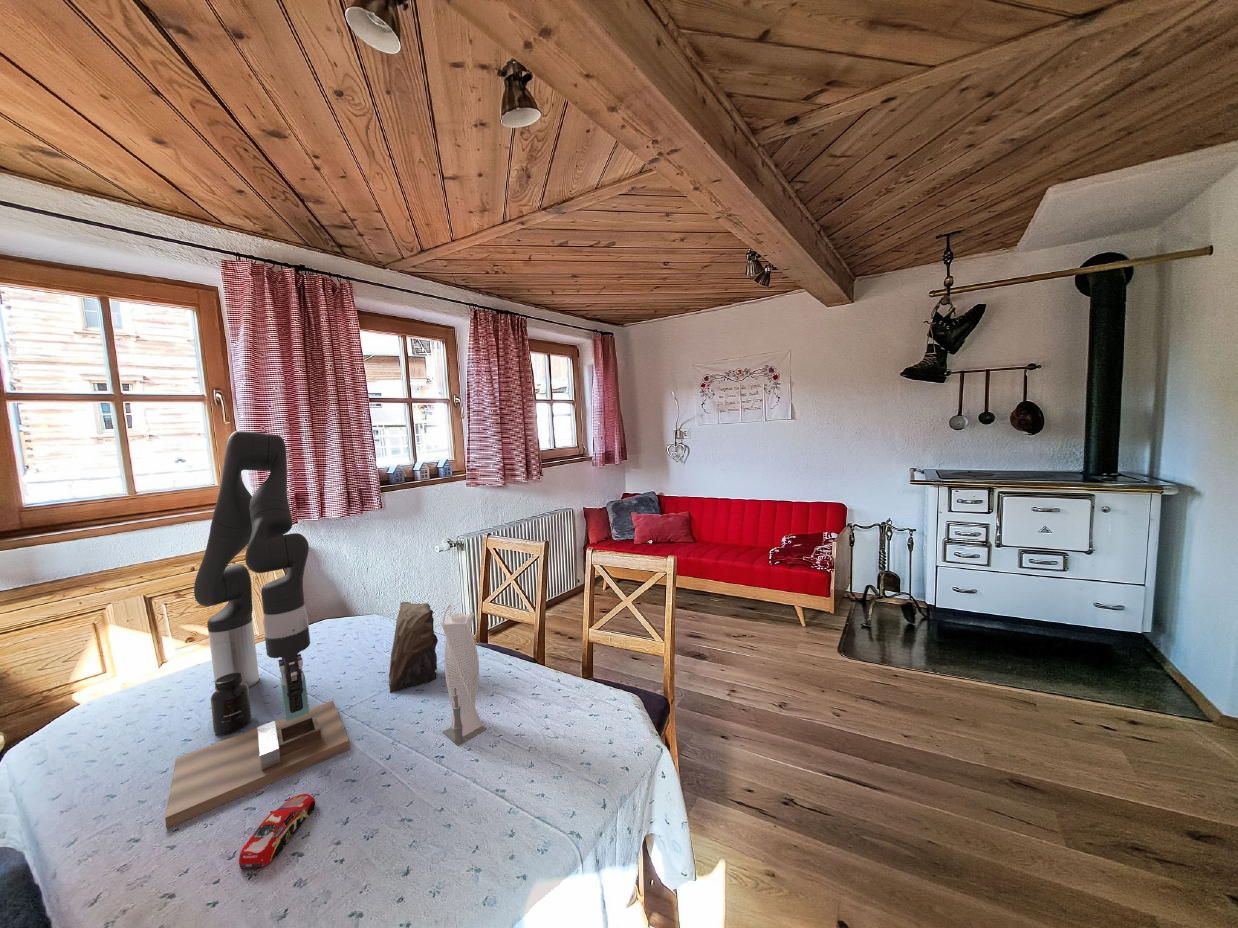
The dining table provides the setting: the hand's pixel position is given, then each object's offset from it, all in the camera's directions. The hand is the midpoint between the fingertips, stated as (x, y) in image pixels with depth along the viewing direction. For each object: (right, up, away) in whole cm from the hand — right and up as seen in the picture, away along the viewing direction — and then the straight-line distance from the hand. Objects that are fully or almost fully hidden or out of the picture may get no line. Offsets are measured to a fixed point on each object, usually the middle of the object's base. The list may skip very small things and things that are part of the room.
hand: (295, 705), depth 98 cm
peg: (0, -2, 0) cm, 2 cm away
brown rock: (+12, -7, +27) cm, 30 cm away
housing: (-5, -10, -2) cm, 12 cm away
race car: (+12, -11, -20) cm, 26 cm away
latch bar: (-4, -8, -3) cm, 9 cm away
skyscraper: (+35, -8, +5) cm, 36 cm away
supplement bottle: (-22, -10, +10) cm, 26 cm away
